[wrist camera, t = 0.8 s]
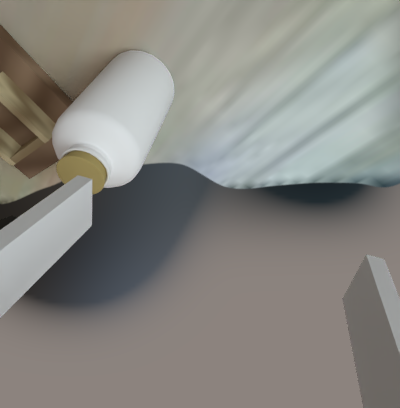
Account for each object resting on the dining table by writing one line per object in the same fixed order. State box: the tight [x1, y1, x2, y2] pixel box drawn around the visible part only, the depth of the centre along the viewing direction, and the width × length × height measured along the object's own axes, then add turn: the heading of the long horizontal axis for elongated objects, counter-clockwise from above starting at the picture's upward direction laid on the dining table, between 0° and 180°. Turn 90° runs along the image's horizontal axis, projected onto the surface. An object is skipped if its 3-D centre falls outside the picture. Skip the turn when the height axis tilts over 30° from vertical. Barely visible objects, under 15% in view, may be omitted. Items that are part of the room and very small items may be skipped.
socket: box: [0, 25, 73, 179], centre depth 45 cm, size 16×16×4 cm
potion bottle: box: [52, 50, 174, 194], centre depth 34 cm, size 8×8×18 cm
